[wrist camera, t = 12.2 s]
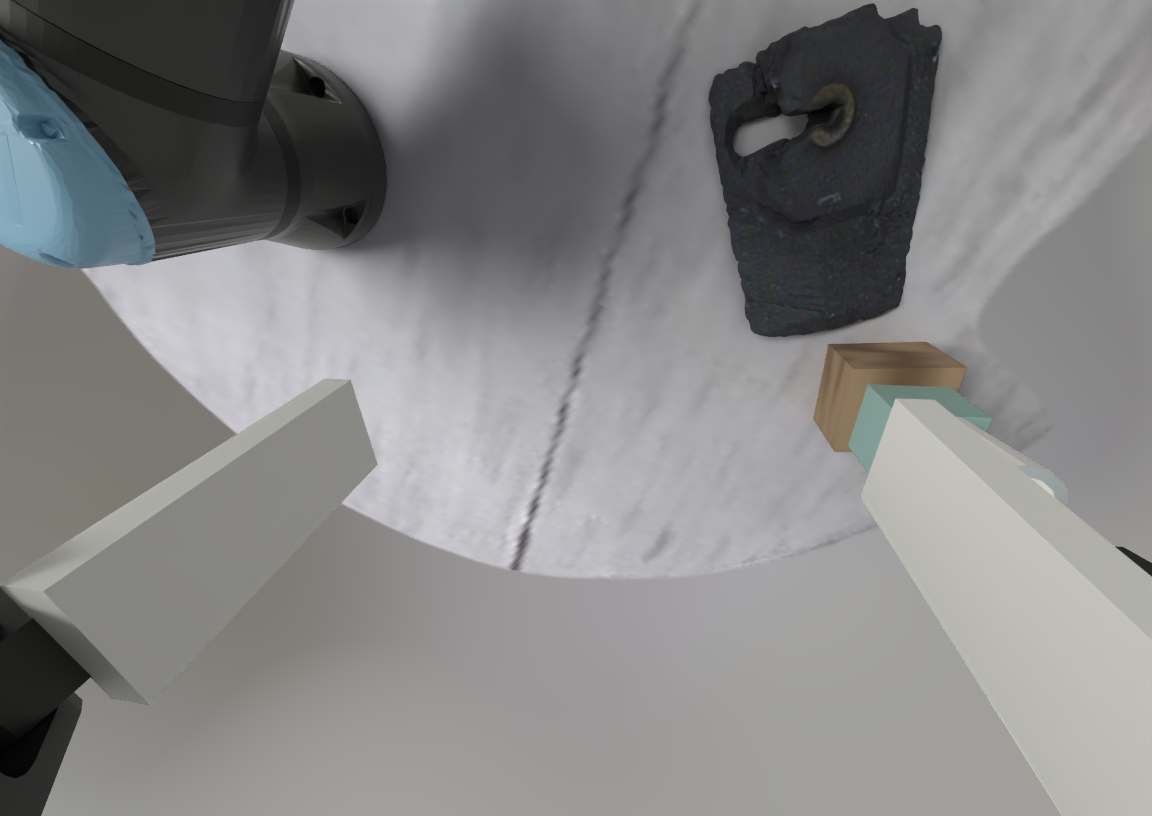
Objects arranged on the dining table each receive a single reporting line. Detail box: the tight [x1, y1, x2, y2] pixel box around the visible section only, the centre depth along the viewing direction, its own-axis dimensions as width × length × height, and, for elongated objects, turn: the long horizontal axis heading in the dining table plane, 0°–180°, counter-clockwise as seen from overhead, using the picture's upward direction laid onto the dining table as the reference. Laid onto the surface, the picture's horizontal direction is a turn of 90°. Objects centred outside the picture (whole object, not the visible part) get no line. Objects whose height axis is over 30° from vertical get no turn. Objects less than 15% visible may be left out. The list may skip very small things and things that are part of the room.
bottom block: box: [814, 342, 967, 452], centre depth 38 cm, size 8×8×6 cm
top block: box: [848, 384, 993, 474], centre depth 34 cm, size 6×6×5 cm
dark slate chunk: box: [709, 3, 942, 337], centre depth 33 cm, size 15×22×5 cm
